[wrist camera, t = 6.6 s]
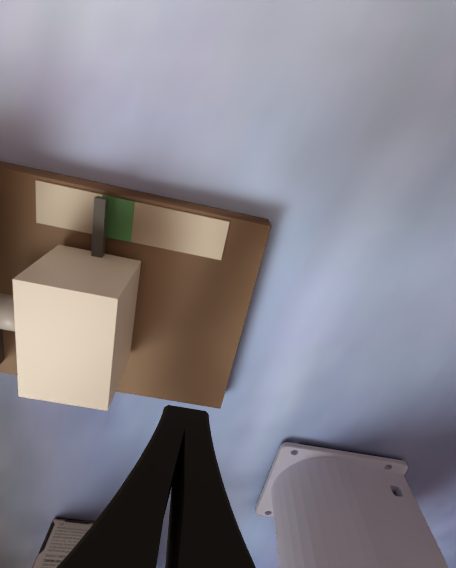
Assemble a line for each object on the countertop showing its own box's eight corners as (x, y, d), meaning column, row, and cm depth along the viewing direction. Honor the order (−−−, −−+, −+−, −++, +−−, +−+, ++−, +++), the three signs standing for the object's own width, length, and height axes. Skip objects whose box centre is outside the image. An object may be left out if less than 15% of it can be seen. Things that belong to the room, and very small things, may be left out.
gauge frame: (268, 219, 18) (286, 266, 12) (220, 394, 23) (217, 484, 17) (-60, 148, 16) (-209, 164, 11) (-34, 351, 22) (-126, 434, 16)
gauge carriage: (147, 205, 16) (124, 231, 12) (129, 357, 20) (107, 410, 16) (13, 177, 16) (-53, 195, 12) (20, 338, 19) (-28, 389, 16)
